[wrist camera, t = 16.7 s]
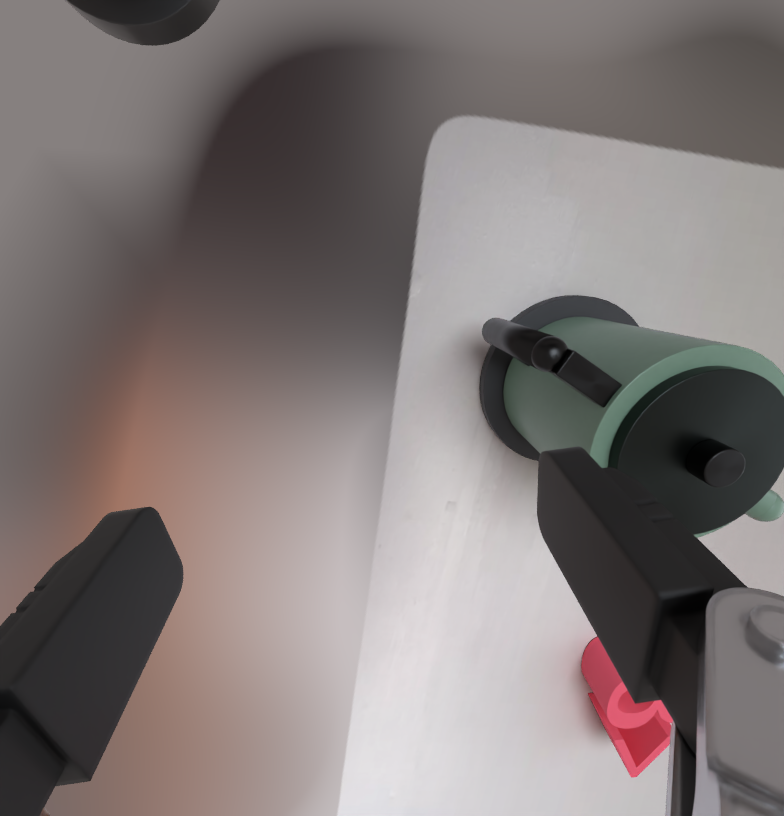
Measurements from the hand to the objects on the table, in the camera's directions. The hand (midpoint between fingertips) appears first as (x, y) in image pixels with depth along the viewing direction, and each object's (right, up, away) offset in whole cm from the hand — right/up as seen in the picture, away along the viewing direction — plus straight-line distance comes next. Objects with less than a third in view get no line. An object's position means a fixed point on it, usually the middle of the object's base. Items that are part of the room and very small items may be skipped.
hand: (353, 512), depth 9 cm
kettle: (+15, +4, +25) cm, 29 cm away
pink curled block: (+26, -29, +38) cm, 55 cm away
